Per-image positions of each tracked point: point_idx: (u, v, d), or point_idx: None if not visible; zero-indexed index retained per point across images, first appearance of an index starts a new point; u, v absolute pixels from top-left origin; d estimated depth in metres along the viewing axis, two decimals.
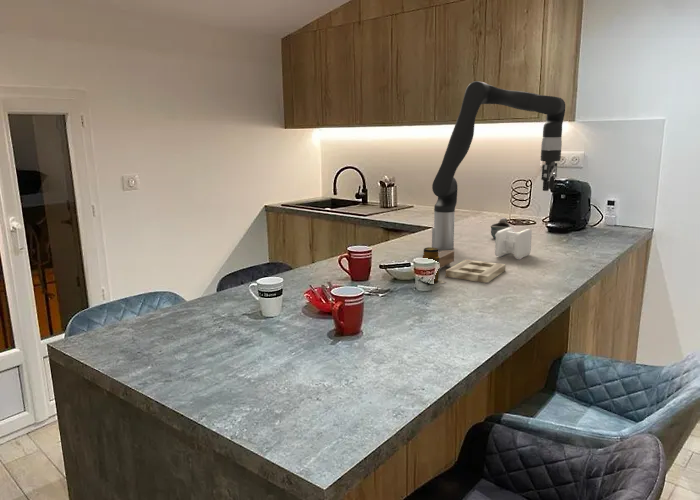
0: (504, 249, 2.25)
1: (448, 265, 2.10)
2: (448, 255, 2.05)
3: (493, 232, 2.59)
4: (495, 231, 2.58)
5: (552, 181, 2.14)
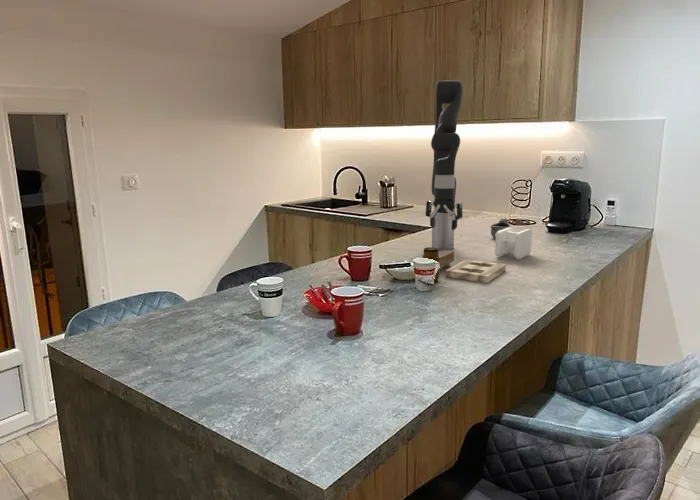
0: (504, 249, 2.25)
1: (448, 265, 2.10)
2: (448, 255, 2.05)
3: (493, 232, 2.59)
4: (495, 231, 2.58)
5: (434, 219, 2.05)
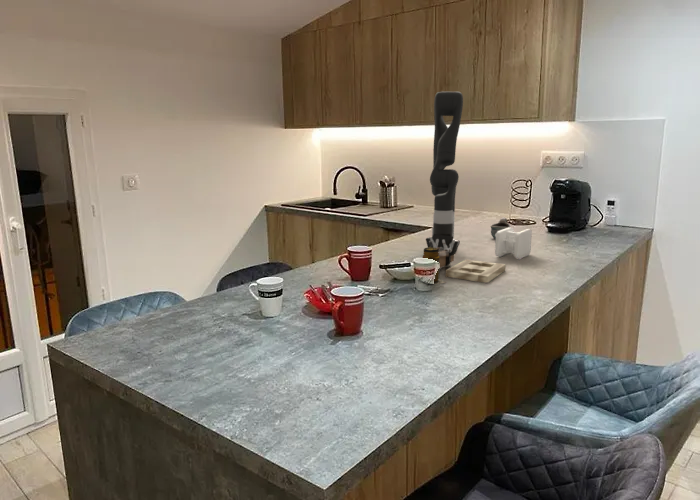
0: (504, 249, 2.25)
1: (448, 265, 2.10)
2: None
3: (493, 232, 2.59)
4: (495, 231, 2.58)
5: None
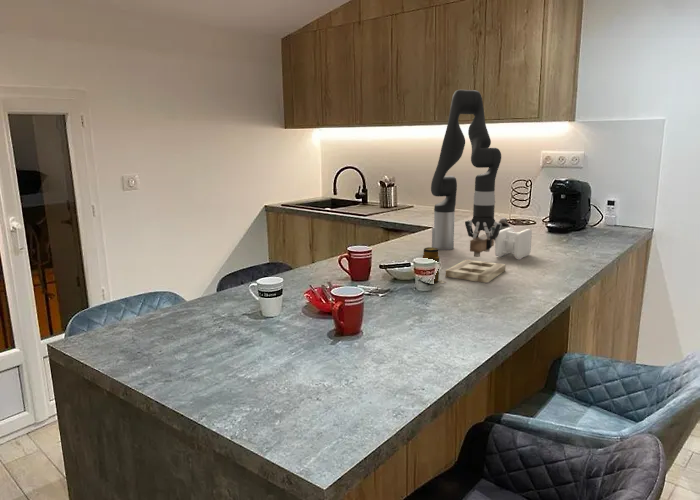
0: (504, 249, 2.25)
1: (488, 250, 1.99)
2: None
3: (493, 232, 2.59)
4: None
5: None
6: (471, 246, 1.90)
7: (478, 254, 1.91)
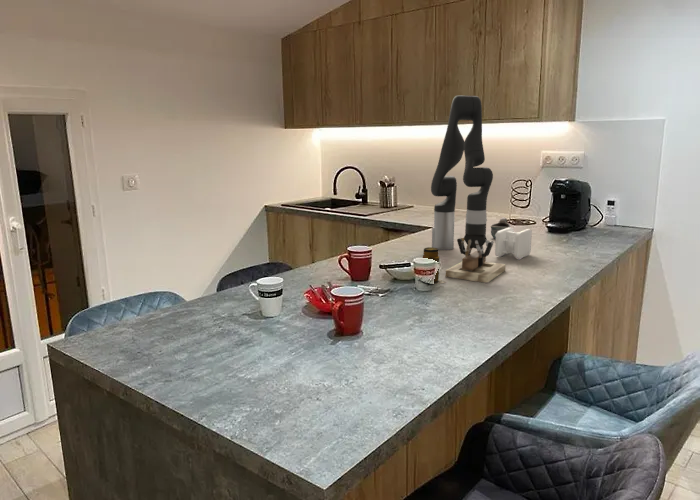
0: (504, 249, 2.25)
1: None
2: None
3: (493, 232, 2.59)
4: (495, 231, 2.58)
5: None
6: (463, 264, 1.94)
7: None
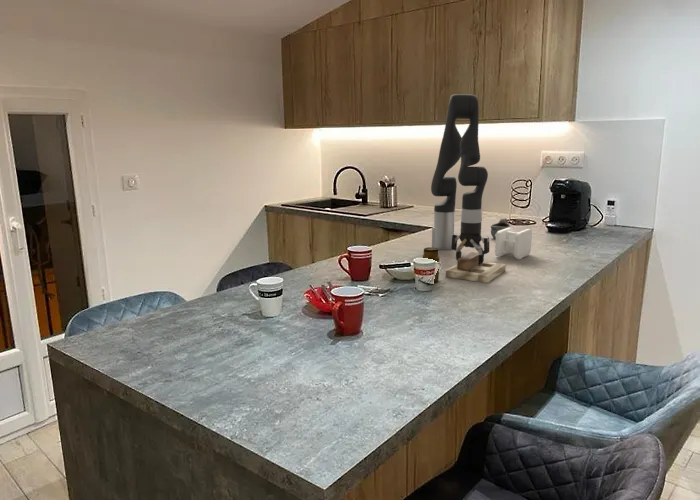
0: (504, 249, 2.25)
1: None
2: (476, 257, 1.99)
3: (493, 232, 2.59)
4: (495, 231, 2.58)
5: (460, 253, 2.01)
6: (458, 265, 1.95)
7: None
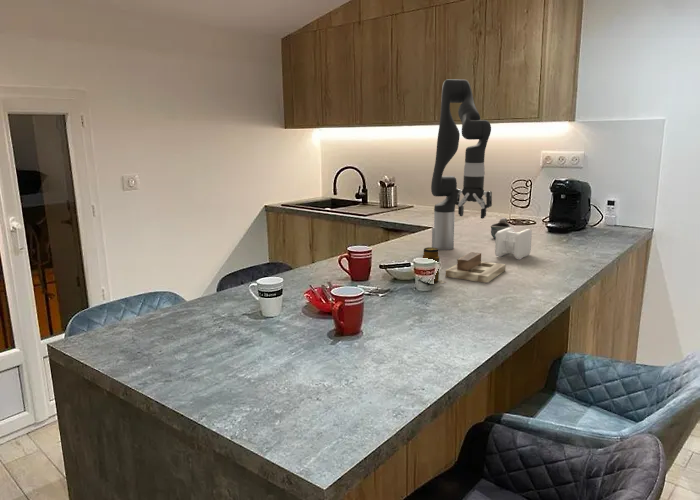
0: (504, 249, 2.25)
1: None
2: (476, 257, 1.99)
3: (493, 232, 2.59)
4: (495, 231, 2.58)
5: (463, 208, 2.03)
6: (458, 265, 1.95)
7: None
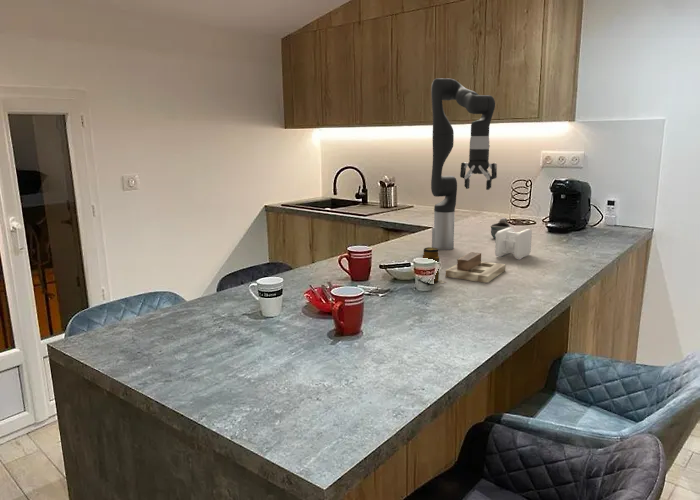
0: (504, 249, 2.25)
1: None
2: (476, 257, 1.99)
3: (493, 232, 2.59)
4: (495, 231, 2.58)
5: (468, 181, 2.12)
6: (458, 265, 1.95)
7: None
